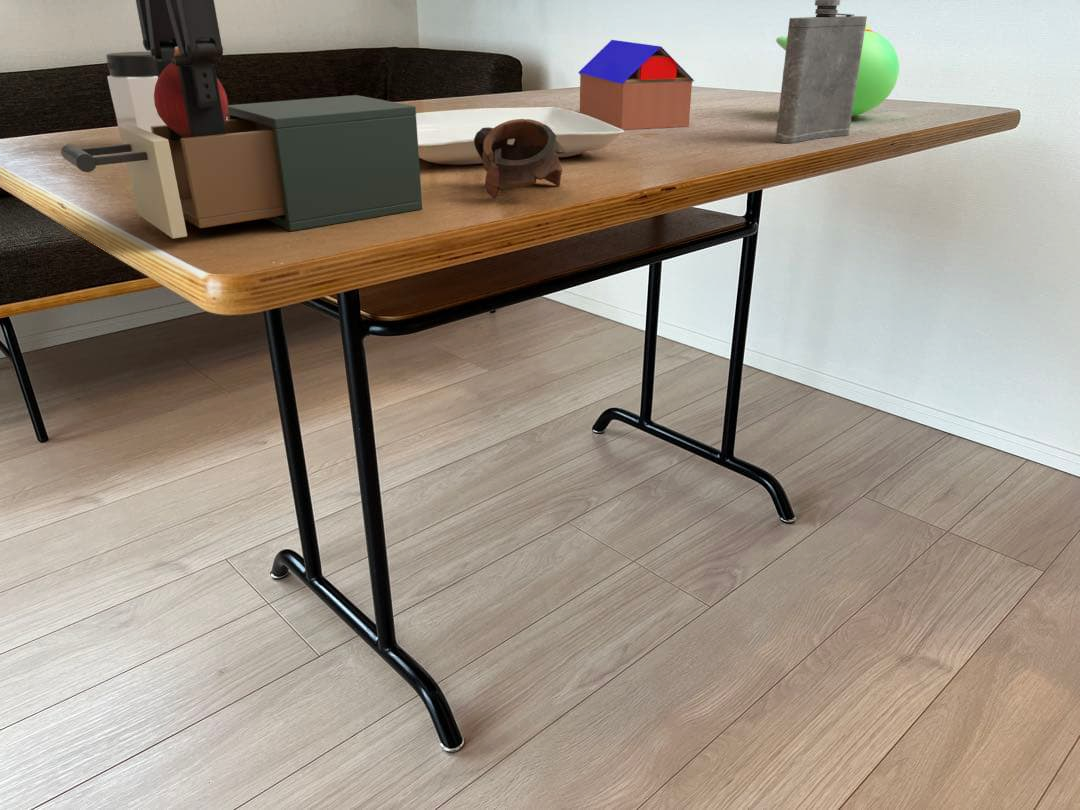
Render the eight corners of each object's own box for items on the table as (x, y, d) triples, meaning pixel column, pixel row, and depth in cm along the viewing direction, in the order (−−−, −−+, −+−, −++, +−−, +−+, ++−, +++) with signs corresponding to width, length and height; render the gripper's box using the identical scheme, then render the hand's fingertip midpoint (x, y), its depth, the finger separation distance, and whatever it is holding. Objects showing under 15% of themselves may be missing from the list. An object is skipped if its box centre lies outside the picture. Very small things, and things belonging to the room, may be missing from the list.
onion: (243, 140, 75) (228, 44, 71) (220, 151, 70) (202, 48, 66) (180, 140, 75) (161, 44, 72) (152, 152, 70) (130, 49, 66)
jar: (145, 141, 119) (126, 51, 114) (200, 141, 119) (184, 51, 114) (113, 152, 111) (91, 55, 106) (172, 152, 111) (153, 55, 106)
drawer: (103, 249, 66) (78, 148, 62) (74, 223, 74) (50, 131, 70) (314, 215, 75) (303, 126, 72) (269, 195, 83) (256, 113, 80)
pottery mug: (587, 192, 90) (582, 129, 83) (530, 244, 87) (520, 184, 80) (504, 151, 95) (493, 89, 88) (448, 200, 92) (432, 139, 85)
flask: (766, 140, 118) (782, -1, 110) (832, 131, 125) (851, -2, 117) (786, 143, 115) (804, -1, 107) (853, 134, 122) (874, -2, 114)
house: (641, 110, 147) (644, 39, 142) (691, 126, 130) (697, 45, 125) (577, 113, 144) (578, 40, 139) (620, 130, 127) (623, 47, 122)
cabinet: (290, 231, 74) (274, 118, 70) (242, 207, 83) (225, 105, 78) (422, 209, 81) (415, 106, 77) (365, 188, 90) (356, 95, 86)
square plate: (554, 129, 128) (554, 103, 126) (626, 160, 104) (628, 127, 103) (377, 139, 120) (375, 111, 118) (413, 174, 97) (411, 139, 95)
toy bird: (797, 125, 131) (810, 22, 124) (763, 111, 146) (773, 19, 139) (907, 123, 132) (926, 21, 126) (862, 109, 147) (877, 18, 141)
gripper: (233, -192, 57) (282, 153, 68) (156, -157, 71) (206, 127, 81) (118, -206, 53) (188, 163, 64) (59, -165, 67) (125, 134, 77)
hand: (198, 142), depth 72 cm, fingers closed on onion, 6 cm apart
